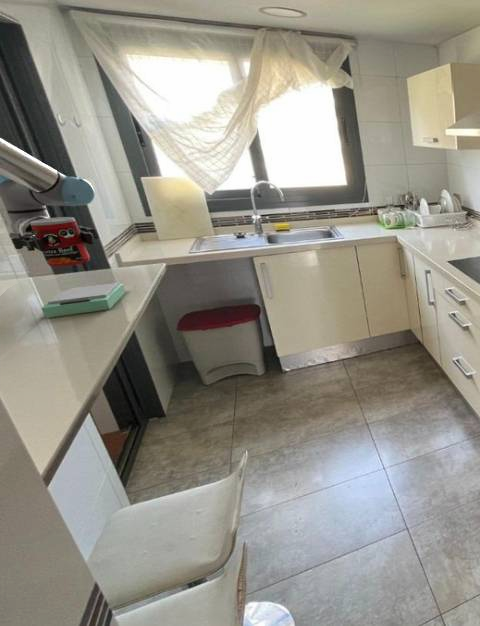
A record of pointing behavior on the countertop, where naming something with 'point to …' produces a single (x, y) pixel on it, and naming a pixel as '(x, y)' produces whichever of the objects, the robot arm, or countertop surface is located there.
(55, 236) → the canned food
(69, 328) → the countertop surface
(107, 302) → the scale
